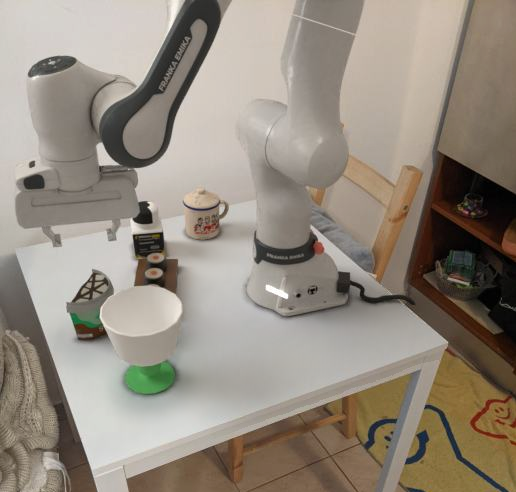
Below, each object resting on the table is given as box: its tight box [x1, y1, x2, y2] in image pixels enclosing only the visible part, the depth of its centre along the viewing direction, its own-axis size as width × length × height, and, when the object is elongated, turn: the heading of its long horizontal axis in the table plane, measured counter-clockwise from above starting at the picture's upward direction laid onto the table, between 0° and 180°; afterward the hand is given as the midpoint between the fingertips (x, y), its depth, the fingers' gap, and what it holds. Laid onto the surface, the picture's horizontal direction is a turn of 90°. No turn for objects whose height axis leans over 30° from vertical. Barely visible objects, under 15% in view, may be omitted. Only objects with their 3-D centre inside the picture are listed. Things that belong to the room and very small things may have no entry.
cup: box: [100, 285, 184, 395], centre depth 97 cm, size 14×14×16 cm
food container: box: [65, 268, 115, 341], centre depth 109 cm, size 12×6×10 cm, turn 168°
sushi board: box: [133, 253, 179, 295], centre depth 120 cm, size 9×20×5 cm, turn 4°
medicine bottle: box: [129, 200, 166, 260], centre depth 130 cm, size 7×7×12 cm
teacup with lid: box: [182, 187, 230, 241], centre depth 138 cm, size 12×9×12 cm
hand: (85, 242), depth 99 cm, fingers open, 8 cm apart
